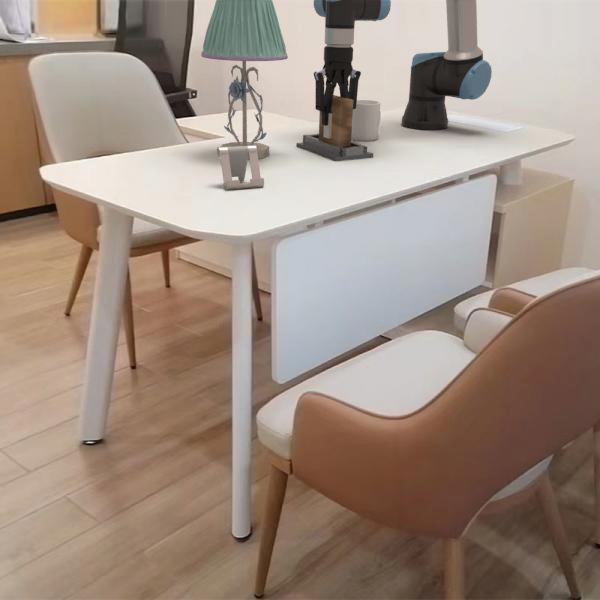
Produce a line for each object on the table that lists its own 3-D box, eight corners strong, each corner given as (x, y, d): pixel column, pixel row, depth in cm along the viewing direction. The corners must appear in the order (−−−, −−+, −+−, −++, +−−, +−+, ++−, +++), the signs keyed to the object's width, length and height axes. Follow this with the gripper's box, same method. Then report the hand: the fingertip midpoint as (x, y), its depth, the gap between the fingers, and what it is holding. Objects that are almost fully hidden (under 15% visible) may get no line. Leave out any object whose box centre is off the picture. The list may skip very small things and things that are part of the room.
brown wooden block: (330, 139, 204) (332, 94, 200) (350, 145, 197) (353, 99, 192) (318, 140, 203) (320, 95, 198) (338, 147, 195) (340, 100, 190)
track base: (332, 143, 211) (333, 132, 210) (373, 157, 195) (373, 146, 194) (296, 146, 206) (296, 135, 204) (335, 161, 190) (335, 149, 189)
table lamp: (186, 153, 193) (181, -12, 178) (246, 143, 208) (246, -11, 192) (242, 168, 180) (242, -10, 164) (302, 155, 195) (307, -8, 179)
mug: (390, 137, 222) (393, 101, 217) (365, 142, 213) (368, 105, 209) (367, 133, 227) (370, 98, 223) (342, 138, 219) (344, 101, 215)
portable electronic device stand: (226, 191, 160) (226, 152, 157) (215, 182, 167) (215, 145, 163) (264, 188, 163) (264, 150, 160) (251, 179, 170) (251, 143, 166)
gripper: (358, 44, 197) (353, 132, 206) (302, 44, 189) (300, 136, 198) (374, 46, 191) (368, 137, 200) (318, 47, 183) (314, 141, 192)
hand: (334, 136), depth 199 cm, fingers closed on brown wooden block, 4 cm apart
